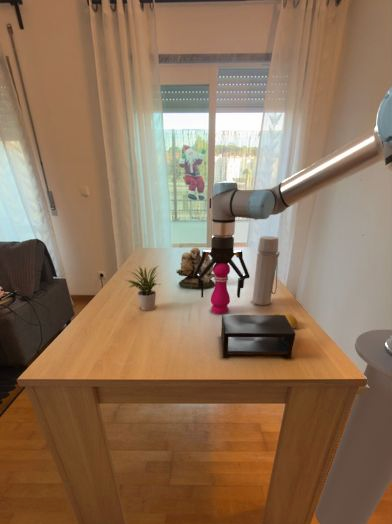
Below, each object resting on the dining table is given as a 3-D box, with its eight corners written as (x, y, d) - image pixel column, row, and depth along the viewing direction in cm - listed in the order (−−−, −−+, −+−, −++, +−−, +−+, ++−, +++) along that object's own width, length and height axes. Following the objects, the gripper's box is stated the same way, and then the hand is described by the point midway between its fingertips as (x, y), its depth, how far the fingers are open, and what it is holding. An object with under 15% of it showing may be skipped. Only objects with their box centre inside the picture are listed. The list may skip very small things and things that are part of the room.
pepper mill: (233, 311, 108) (236, 257, 97) (219, 316, 104) (222, 261, 93) (219, 305, 112) (221, 254, 102) (206, 310, 108) (207, 257, 98)
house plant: (145, 297, 120) (141, 258, 112) (173, 303, 115) (171, 262, 106) (123, 309, 110) (117, 267, 101) (152, 316, 104) (148, 272, 96)
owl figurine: (177, 290, 128) (175, 251, 119) (176, 282, 138) (175, 245, 130) (216, 288, 130) (217, 250, 121) (213, 280, 140) (213, 244, 131)
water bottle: (248, 303, 114) (254, 238, 101) (258, 297, 120) (265, 235, 107) (269, 309, 109) (278, 241, 96) (278, 303, 115) (288, 237, 102)
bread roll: (300, 329, 95) (303, 318, 93) (276, 331, 93) (277, 321, 91) (288, 318, 102) (290, 308, 100) (265, 321, 100) (266, 310, 98)
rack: (280, 338, 90) (284, 314, 86) (290, 358, 79) (295, 333, 75) (221, 337, 90) (222, 314, 86) (223, 358, 80) (224, 333, 76)
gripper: (258, 233, 97) (252, 292, 108) (186, 233, 97) (187, 292, 109) (262, 237, 90) (255, 300, 102) (185, 237, 91) (186, 299, 102)
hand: (220, 296), depth 105 cm, fingers open, 13 cm apart
